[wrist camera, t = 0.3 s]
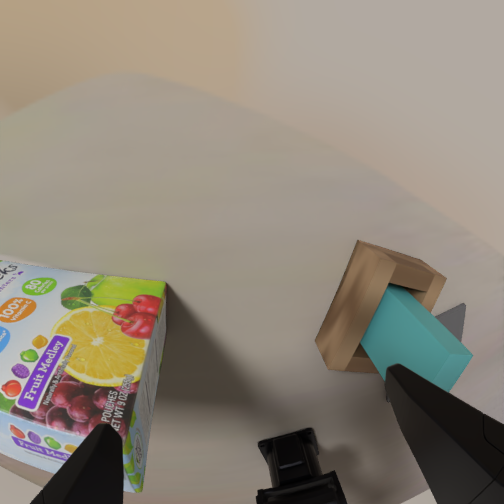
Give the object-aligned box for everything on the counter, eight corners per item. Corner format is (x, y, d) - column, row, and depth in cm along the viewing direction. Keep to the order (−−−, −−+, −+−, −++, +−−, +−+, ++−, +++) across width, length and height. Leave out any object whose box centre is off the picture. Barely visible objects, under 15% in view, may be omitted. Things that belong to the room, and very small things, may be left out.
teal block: (371, 329, 26) (432, 414, 16) (349, 325, 26) (406, 417, 16) (395, 280, 25) (473, 355, 15) (372, 274, 24) (450, 354, 14)
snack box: (-23, 303, 22) (-105, 392, 8) (-33, 251, 20) (-135, 329, 6) (168, 337, 25) (142, 500, 11) (169, 277, 23) (125, 445, 9)
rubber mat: (453, 366, 31) (455, 369, 31) (386, 399, 31) (388, 402, 31) (463, 302, 28) (466, 305, 27) (386, 337, 28) (389, 340, 27)
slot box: (377, 348, 28) (395, 374, 24) (314, 340, 27) (328, 369, 23) (421, 260, 25) (446, 278, 21) (357, 239, 24) (380, 258, 20)
